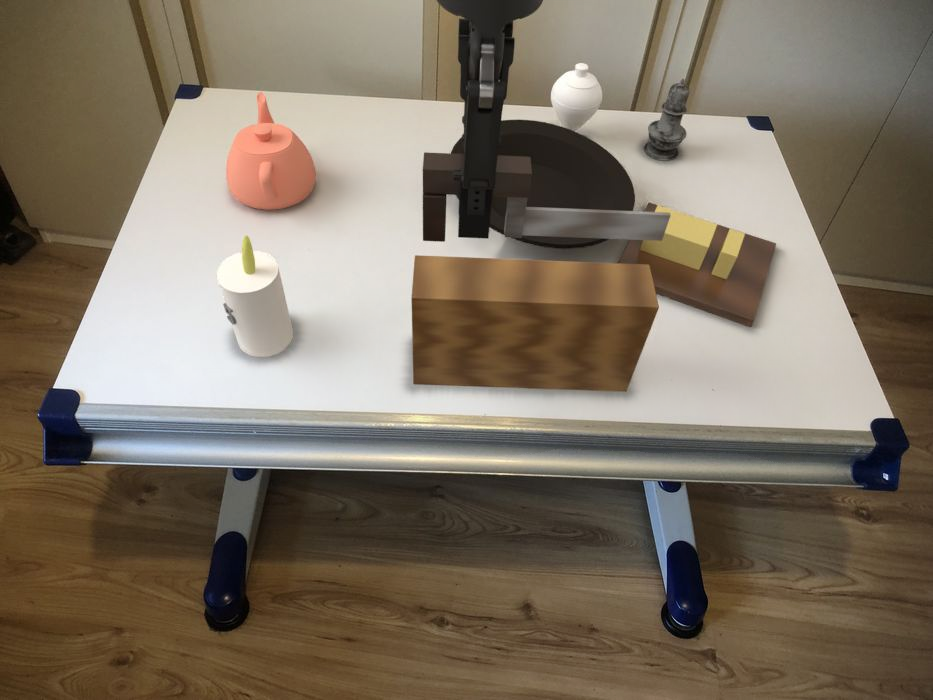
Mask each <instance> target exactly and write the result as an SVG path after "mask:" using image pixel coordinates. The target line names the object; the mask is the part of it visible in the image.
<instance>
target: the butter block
mask: <svg viewBox="0 0 933 700" xmlns="http://www.w3.org/2000/svg"><path fill="white" fill-rule="evenodd" d="M657 205H658V206H657V208H656V210H655V212H666V213H670V215H671V216H670V219H669V222H668V225H667V227H666V230H665V233H664V236H663V239H662V241H655V240H643V241H642V244H641V247H640V250H641V251H644V252H647V253H650V254H653V255H656V256H659V257H662V258H665V259H668V260H670V261H673V262H676V263H679V264H682V265H685V266H688V267H691V268H694V269H697V270H699V269H700V267H701V264H702V262H703V260H704V257H705V255H706V253H707V250H708V248H709V246H710V243H711V240H712V238H713V235H714V232H715V230H716V227H717V224H718V223H715V222H712V221H709V220H706V221H705V219H703V218H699V217H696V216H693V215H690V214H686V213H684V214H683V212H681V211H678V210H675V209H672V208H668V207H665V206H661V205H659V204H657ZM674 210H675V211H674ZM677 211H678V212H677ZM680 212H681V213H680ZM708 221H709V222H708ZM711 222H712V223H711ZM714 223H715V224H714Z"/></svg>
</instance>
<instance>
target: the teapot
mask: <svg viewBox="0 0 933 700" xmlns="http://www.w3.org/2000/svg"><path fill="white" fill-rule="evenodd" d="M256 104H257V123H255V124H251V125H248V126H246V127H244V128H242V129H240V130H239V131H238V132H237V134H236V135H235V136H234V139H233V141H232V144H231V146H230V149H229V152H228V155H227V158H226V165H225V166H226V167H225V173H226V174H225V176H226V183H227V187H228V190H229V192H230V193H231V195H232V196H233V197H234V199H236V200H237V201H239V202H240V203H242V204H244V205H246V206H248V207H250V208H253V209H259V210H267V211H269V210H270V211H271V210H281V209H287V208H289V207H293V206H295V205H297V204H300V203H301V202H303V201H304V200H305V199H306V198H307V197H308V196H309V195H310V194H311V192H312V191H313V189H314V187H315V185H316V181H317V171H316V170H317V169H316V167H315V166H316V165H315V162H314V160H313V157H312V155H311V153H310V151H309V150H308V148H307V146H306V145H305V144H304V142H303V141H302V140H301V138H300V137H299V136H298V135H297V133H295V132H294V131H293V130H292V129H291V128H289V127H288V126H286V125H283V124H280V123H275V120H274V119H273V117H272V113H271V112H270V109H269V106H268V101H267V97H266V95H265V94H264V93H263V92H258V93H257V95H256Z"/></svg>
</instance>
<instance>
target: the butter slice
mask: <svg viewBox="0 0 933 700" xmlns="http://www.w3.org/2000/svg"><path fill="white" fill-rule="evenodd" d="M742 232H743V231H740V232H739V230H737V231H736V229H733V228H730V229H729V232H728V234H727V236H726V238H725V241H724V243H723V245H722V247H721V250H720V252H719V255H718V257H717V260H716V263H715V266H714V268H713V271H712V275H715V276H718V277H720V278H723V279H727V278H728V276H729V274H730V271H731V269H732V267H733V265H734V263H735V261H736V259H737V257H738V254H739V251H740V248H741V245H742V242H743V239H744V236H745V232H743V233H742Z"/></svg>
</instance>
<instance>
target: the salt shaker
mask: <svg viewBox="0 0 933 700" xmlns="http://www.w3.org/2000/svg"><path fill="white" fill-rule="evenodd" d="M690 92H691V90H690V87H689V86H688V85H687V84H686V81H685V79H684V78H682V79H681V80H680V81H679V82H676V83H674V84H672V85H671V86H670V88H669V90H668V94H667V97H666V100H665V102H663V103H662V105H661V108H662V112H661V116H660V118H659V119H658V120H657V119H656V120H654V121H651V122H650V123H649V124H648V126H647V131H648V139H649V141H647V142H646V143H645V145H644V147H643V150H644V153H645V154H646V155H647V156H649V158H651V159H654V160H657V161H662V162H669V161H673V160H675V159H676V158H677V157H678V155H679V150H678V147H679V146H680V145H681V144H682V142H683V141H684V140H685V139H686V137H687V130H686V129H685V127H683V125H681V123H682V120H683V116H684V115H685V114H686V113H687V111H688V109H687V107H686V105H687V102H688V99H689V96H690Z"/></svg>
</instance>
